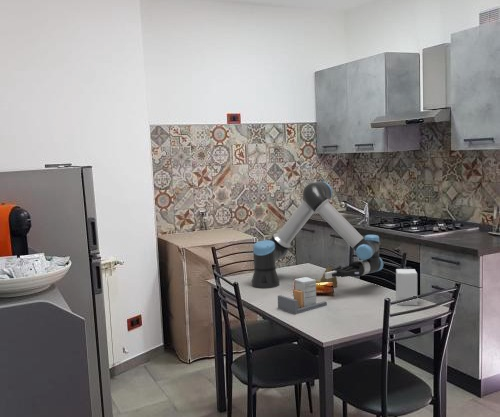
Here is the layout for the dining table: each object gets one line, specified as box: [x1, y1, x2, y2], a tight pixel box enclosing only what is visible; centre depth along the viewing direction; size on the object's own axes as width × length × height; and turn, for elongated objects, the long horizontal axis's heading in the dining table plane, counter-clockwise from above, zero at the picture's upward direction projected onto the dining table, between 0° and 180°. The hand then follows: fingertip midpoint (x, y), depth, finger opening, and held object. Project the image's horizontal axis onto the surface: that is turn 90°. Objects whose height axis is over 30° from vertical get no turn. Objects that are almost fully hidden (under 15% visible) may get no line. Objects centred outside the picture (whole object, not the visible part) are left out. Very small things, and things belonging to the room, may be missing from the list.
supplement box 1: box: [294, 276, 317, 307], centre depth 240 cm, size 7×7×13 cm
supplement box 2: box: [395, 268, 418, 306], centre depth 239 cm, size 9×9×15 cm
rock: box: [319, 265, 338, 288], centre depth 273 cm, size 11×9×10 cm
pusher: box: [293, 289, 303, 309], centre depth 237 cm, size 5×5×8 cm
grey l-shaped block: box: [277, 294, 328, 315], centre depth 239 cm, size 12×20×6 cm, turn 127°
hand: (326, 275), depth 248 cm, fingers closed
